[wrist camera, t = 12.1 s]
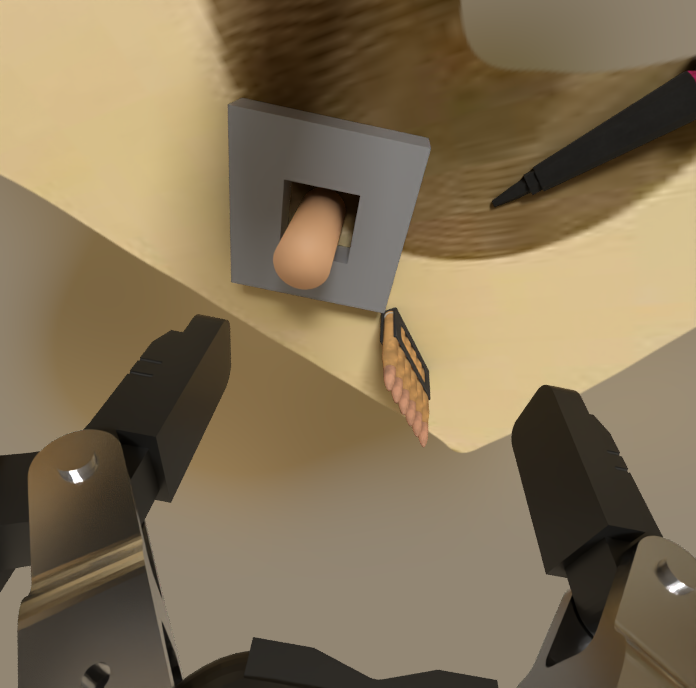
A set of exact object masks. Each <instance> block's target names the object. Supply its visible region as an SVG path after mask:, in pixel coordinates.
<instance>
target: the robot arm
mask: <svg viewBox="0 0 696 688" xmlns="http://www.w3.org/2000/svg"><path fill="white" fill-rule="evenodd" d="M230 349H231V348H230V323H229V321H228V320H225V319H220V318H215V317H210V316H204V315H200V314H198V315H196V316H194V318H193V319H192V320H191V322H190V323H189V325H188V326H187V328H186V329H185V330H184V332H178V331H173V330H171V331H169V332H167V333H166V334H164V335H163V336H161V337H159V338H158V339H156V340H154V341H153V342H152V343H151V344H150V346H149V347H148V348H147V349H146V351H145V352H144V353H143V355H142V356H141V357H140V361H137V362H136V364H135V365H134V366H133V367H132V369H131V370H130V374H127V375H126V376H125V378H124V379H123V380H122V382H121V383H120V384H119V385H118V387H117V388H116V389H115V391H114V392H113V393H112V395H111V396H110V397H109V399H108V400H107V401H106V402H105V404H104V405H103V406H102V407H101V409H100V410H99V411H98V413H97V414H96V415H95V416H94V418H93V419H92V421H91V422H90V423H89V424H88V425H87V426H86V428H84V429H83V430H80V431H75V432H72V433H69V434H66V435H63V436H62V437H59V438H57V439H56V440H54V441H52V442H51V443H49V444H48V445H47V446H45V447H44V448H43V449H42V450H41V451H39V452H33V453H23V454H12V455H1V456H0V592H1V590H2V589H3V587H4V585H5V584H6V582H7V581H8V579H9V578H10V576H11V575H12V573H13V571H14V570H15V568H19V567H24V566H31V581H32V582H31V590H30V593H29V595H28V596H26V597H25V598H24V599H23V600H22V602H21V604H20V608H19V614H18V630H17V632H18V688H498V683H497V680H493V679H486V678H482V677H475V676H470V675H465V674H459V673H453V672H448V671H442V670H434V671H428V672H423V673H417V674H411V675H406V676H400V677H394V678H389V679H382V680H376V679H372V678H369V677H368V676H366V675H364V674H362V673H360V672H358V671H356V670H354V669H353V668H351V667H349V666H347V665H345V664H343V663H341V662H339V661H338V660H336V659H334V658H332V657H330V656H328V655H326V654H324V653H323V652H321V651H319V650H317V649H315V648H311V647H306V646H300V645H295V644H289V643H283V642H278V641H272V640H266V639H261V638H255V637H253V640H252V644H251V649H250V651H246V652H240V653H235V654H232V655H229V656H226V657H223V658H220V659H218V660H215V661H213V662H211V663H209V664H207V665H205V666H203V667H202V668H200V669H198V670H197V671H195V672H194V673H192V674H190V675H189V676H187V677H186V678H185V679H184V677H183V673H182V669H181V665H180V660H179V656H178V652H177V648H176V644H175V640H174V635H173V632H172V628H171V624H170V620H169V617H168V613H167V610H166V606H165V602H164V598H163V593H162V589H161V585H160V580H159V576H158V572H157V568H156V563H155V559H154V555H153V551H152V546H151V542H150V538H149V534H148V529H147V525H146V521H145V518H146V516H147V514H148V512H149V510H150V508H151V506H152V504H153V502H154V500H160V501H165V502H170V503H171V501H172V499H173V497H174V495H175V493H176V491H177V489H178V487H179V485H180V483H181V480H182V478H183V476H184V474H185V472H186V470H187V468H188V466H189V463H190V462H191V460H192V457H193V455H194V453H195V451H196V449H197V447H198V445H199V443H200V441H201V439H202V436H203V434H204V432H205V430H206V428H207V426H208V424H209V422H210V420H211V418H212V416H213V413H214V411H215V409H216V407H217V405H218V403H219V401H220V399H221V397H222V395H223V392H224V390H225V388H226V386H227V383H228V379H229V375H230V368H231V350H230ZM512 447H513V451H514V454H515V458H516V462H517V466H518V469H519V473H520V477H521V481H522V484H523V488H524V492H525V496H526V500H527V504H528V507H529V511H530V515H531V519H532V522H533V526H534V530H535V534H536V537H537V541H538V545H539V549H540V552H541V556H542V561H543V564H544V568H545V572H546V574H548V575H554V576H560V577H565V578H568V582H569V585H570V589H569V590H567V591H566V592H565V594H564V595H563V597H562V600H561V602H560V604H559V607H558V609H557V611H556V614H555V616H554V618H553V621H552V623H551V626H550V628H549V630H548V633H547V635H546V637H545V640H544V642H543V644H542V647H541V649H540V651H539V654H538V656H537V659H536V661H535V663H534V665H533V667H532V669H531V670H530V672H529V673H528V675H527V676H526V677H525V678H524V679H523V680H522V681H521V682H520V684H519V685H518V686H517V688H696V558H695V557H694V556H693V555H691V554H690V553H689V552H688V551H687V550H685V549H684V548H683V547H681V546H680V545H678V544H676V543H675V542H673V541H671V540H669V539H666V538H663V536H662V534H661V532H660V530H659V528H658V527H657V525H656V523H655V521H654V519H653V517H652V515H651V513H650V511H649V509H648V507H647V505H646V503H645V501H644V499H643V497H642V495H641V493H640V491H639V489H638V487H637V485H636V483H635V481H634V479H633V477H632V476H631V474H630V473H628V472H627V470H628V468H627V466H626V464H625V462H624V460H623V458H622V457H621V456H619V453H620V452H619V450H618V448H617V446H616V444H615V442H614V440H613V438H612V436H611V434H610V433H609V432H608V431H607V429H606V428H605V427H604V426H603V425H602V424H601V423H600V422H599V421H598V420H597V419H596V417H595V416H594V415H591V414H589V412H588V410H587V408H586V406H585V404H584V402H583V400H582V398H581V396H580V394H579V393H578V392H577V391H574V390H570V389H565V388H560V387H555V386H550V385H543V386H541V387H540V388H539V389H538V390H537V392H536V393H535V394H534V396H533V397H532V399H531V400H530V402H529V403H528V405H527V406H526V407H525V409H524V410H523V412H522V413H521V415H520V416H519V417H518V419H517V420H516V422H515V424H514V426H513V430H512Z"/></svg>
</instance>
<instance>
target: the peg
mask: <svg viewBox="0 0 696 688" xmlns="http://www.w3.org/2000/svg"><path fill="white" fill-rule="evenodd" d="M345 214H346V209H345V204H344V202H343V200H342V198H341V197H340V196H339V195H338V194H337V193H336V192H335V191H333V190H331V189H327V188H315V189H313V190H311V191H309V192H308V193H307V194H306V195H305V196H304V198H303V200H302V201H301V203H300V205H299V207H298V209H297V211H296V213H295V214H294V216H293V218H292V220H291V222H290V224H289V226H288V227H287V229H286V231H285V233H284V235H283V237H282V239H281V240H280V242H279V244H278V246H277V248H276V250H275V252H274V255H273V264H274V268H275V271H276V273H277V274H278V276H279V277H280V278H281V279H282V280H283V281H284V282H285V283H286V284H288V285H290V286H292V287H294V288H298V289H305V290H307V289H313V288H316V287H318V286H320V285H322V284H323V283H324V282H325V281H326V279H327V278H328V276H329V274H330V270H331V266H332V263H333V259H334V255H335V252H336V248H337V244H338V241H339V237H340V234H341V230H342V226H343V223H344V219H345Z"/></svg>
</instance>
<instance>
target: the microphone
mask: <svg viewBox="0 0 696 688" xmlns="http://www.w3.org/2000/svg"><path fill="white" fill-rule="evenodd" d="M694 120H696V67H695V69H694V71H685V72H683V73H681V74H679V75H678V76H676V77H675V78H673V79H671V80H670V81H668V82H667V83H665V84H664V85H662V86H660V87H659V88H657V89H656V90H654V91H653V92H651V93H649V94H648V95H646V96H645V97H643V98H642V99H640V100H638V101H637V102H635V103H634V104H632V105H630V106H629V107H627V108H626V109H624V110H623V111H621V112H619V113H618V114H616V115H615V116H613V117H612V118H610V119H608V120H607V121H605V122H604V123H602V124H601V125H599V126H597V127H596V128H594V129H593V130H591V131H589V132H588V133H586V134H585V135H583V136H582V137H580V138H578V139H577V140H575V141H574V142H572V143H571V144H569V145H567V146H566V147H564V148H563V149H561V150H560V151H558V152H556V153H555V154H553V155H552V156H550V157H548V158H547V159H545V160H544V161H542V162H541V163H539V164H537V165H536V166H534V167H533V170H532V171H530V172H528V173H526V174H525V175H524V179H522V180H521V181H519V182H517V183H516V184H514V185H513V186H511V187H510V188H509V189H507V190H506V191H505V192H503V193H502V194H501V195H499V196H498V197H497V198H495V199H494V200H493V201H492V203H493V205H494V207H497V206H499V205H502V204H505V203H507V202H510V201H512V200H515V199H518V198H520V197H522V196H524V195H526V194H528V193H530V192H531V193H532V195H534V194H536V193H537V192H539V191H541V190H543V191H546V190H548V189H550V188H552V187H554V186H556V185H558V184H561V183H563V182H565V181H567V180H569V179H571V178H573V177H575V176H578V175H580V174H582V173H584V172H586V171H588V170H590V169H592V168H594V167H597V166H599V165H601V164H603V163H605V162H607V161H609V160H611V159H614V158H616V157H618V156H620V155H622V154H624V153H626V152H628V151H631V150H633V149H635V148H637V147H639V146H641V145H643V144H645V143H648V142H650V141H652V140H654V139H656V138H658V137H660V136H662V135H664V134H667V133H669V132H671V131H673V130H675V129H677V128H679V127H681V126H684V125H686V124H688V123H690V122H692V121H694Z"/></svg>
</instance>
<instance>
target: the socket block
mask: <svg viewBox="0 0 696 688" xmlns="http://www.w3.org/2000/svg"><path fill="white" fill-rule="evenodd" d="M228 139H229V191H230V243H231V282H233V283H237V284H242V285H247V286H252V287H257V288H262V289H267V290H272V291H277V292H282V293H287V294H292V295H297V296H301V297H306V298H311V299H316V300H321V301H326V302H331V303H336V304H341V305H346V306H351V307H356V308H361V309H366V310H370V311H375V312H380V313H384V312H385V308H386V305H387V301H388V298H389V294H390V291H391V287H392V284H393V280H394V277H395V273H396V270H397V266H398V263H399V259H400V256H401V252H402V249H403V245H404V242H405V238H406V234H407V231H408V227H409V224H410V220H411V217H412V213H413V210H414V206H415V203H416V199H417V196H418V192H419V189H420V185H421V182H422V178H423V175H424V171H425V168H426V164H427V160H428V157H429V153H430V150H431V147H430V142H429V138H425V137H421V136H416V135H411V134H407V133H402V132H398V131H393V130H388V129H384V128H379V127H375V126H370V125H365V124H361V123H356V122H352V121H347V120H342V119H338V118H333V117H329V116H324V115H319V114H315V113H310V112H306V111H301V110H296V109H292V108H287V107H283V106H278V105H273V104H269V103H264V102H260V101H255V100H250V99H246V98H240V99H238V100H236V101H234V102H232V103H230V104H228ZM292 181H294V182H298V183H303V184H308V185H313V186H317V187H322V188H327V189H331V190H336V191H341V192H346V193H350V194H355V195H360V200H359V206H358V211H357V216H356V221H355V226H354V232H353V237H352V242H351V247H350V248H349V247H344V246H339V245H337V248H336V252H335V255H334V259H333V263H332V266H331V270H330V274H329V276H328V278H327V279H326V281H325V282H324V283H323V284H322V285H320V286H318V287H316V288H313V289H307V290H305V289H298V288H294V287H292V286H290V285H288V284H286V283H285V282H284V281H283V280H282V279H281V278H280V277H279V276H278V274H277V273H276V271H275V268H274V264H273V255H274V252H275V250H276V248H277V246H278V244H279V242H280V240H281V239H282V237H283V235H284V233H285V231H286V229H287V227H288V221H289V208H290V195H291V183H292Z"/></svg>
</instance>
